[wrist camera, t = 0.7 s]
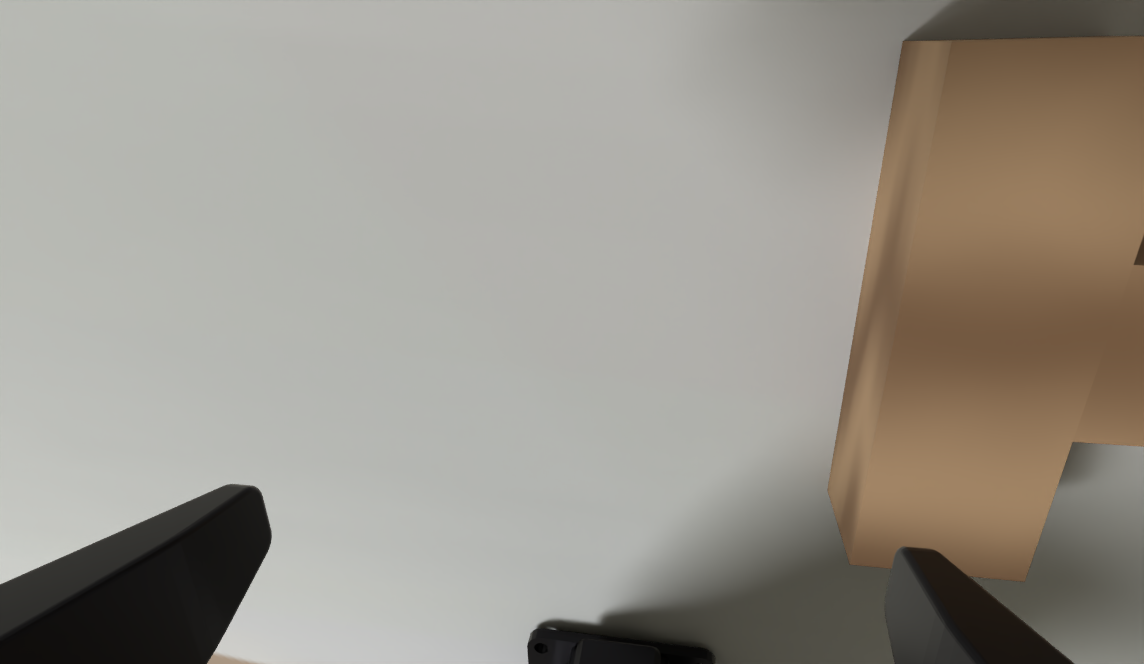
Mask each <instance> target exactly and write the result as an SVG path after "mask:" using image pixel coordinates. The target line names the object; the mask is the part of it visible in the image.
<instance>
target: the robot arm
mask: <svg viewBox="0 0 1144 664" xmlns="http://www.w3.org/2000/svg"><path fill="white" fill-rule="evenodd" d="M271 538H272V533H271V528H270V524H269V520H268V516H267V512H266V508H265V504H264V500H263V496H262V493H261V491H260V490H259V489H258V488H257V487H254V486H250V485H239V484H228V485H225V486H222V487H220V488H218V489H216V490H213V491H211V492H209V493H206V494H204V495H202V496H200V497H197V498H195V499H193V500H191V501H188V502H186V503H184V504H182V505H179V506H177V507H175V508H172V509H170V510H168V511H166V512H163V513H161V514H159V515H157V516H154V517H152V518H150V519H148V520H145V521H143V522H141V523H138V524H136V525H134V526H132V527H129V528H127V529H125V530H123V531H120V532H118V533H116V534H114V535H111V536H109V537H107V538H104V539H102V540H100V541H98V542H95V543H93V544H91V545H89V546H86V547H84V548H82V549H80V550H77V551H75V552H73V553H71V554H68V555H66V556H64V557H61V558H59V559H57V560H55V561H52V562H50V563H48V564H46V565H43V566H41V567H39V568H37V569H34V570H32V571H30V572H27V573H25V574H23V575H21V576H18V577H16V578H14V579H12V580H9V581H7V582H5V583H3V584H0V664H207V663H208V661H209V659H210V658H211V656H212V655H213V653H214V651H215V650H216V648H217V646H218V644H219V643H220V641H221V639H222V637H223V635H224V634H225V632H226V630H227V628H228V626H229V624H230V622H231V621H232V619H233V617H234V615H235V613H236V611H237V609H238V607H239V605H240V603H241V602H242V600H243V598H244V596H245V594H246V592H247V590H248V588H249V586H250V584H251V583H252V581H253V579H254V577H255V575H256V573H257V571H258V569H259V567H260V566H261V564H262V562H263V560H264V558H265V556H266V554H267V552H268V550H269V547H270V544H271ZM885 617H886V622H887V627H888V632H889V637H890V642H891V647H892V652H893V657H894V662H895V664H1074V663H1073V662H1072V661H1071V660H1070V659H1068V658H1067V657H1066V656H1065V655H1063V654H1062V653H1061V652H1060V651H1059V650H1057V649H1056V648H1055V647H1054V646H1053V645H1051V644H1050V643H1049V642H1048V641H1046V640H1045V639H1044V638H1043V637H1042V636H1040V635H1039V634H1038V633H1037V632H1036V631H1034V630H1033V629H1032V628H1031V627H1030V626H1028V625H1027V624H1026V623H1025V622H1023V621H1022V620H1021V619H1020V618H1019V617H1017V616H1016V615H1015V614H1014V613H1013V612H1011V611H1010V610H1009V609H1008V608H1006V607H1005V606H1004V605H1003V604H1002V603H1000V602H999V601H998V600H997V599H996V598H994V597H993V596H992V595H991V594H990V593H988V592H987V591H986V590H985V589H983V588H982V587H981V586H980V585H979V584H977V583H976V582H975V581H974V580H973V579H971V578H970V577H969V576H968V575H966V574H965V573H964V572H963V571H962V570H960V569H959V568H958V567H957V566H956V565H954V564H953V563H952V562H951V561H949V560H948V559H947V558H946V557H945V556H943V555H942V554H941V553H939V552H938V551H936V550H934V549H929V548H918V547H907V546H902V547H901V548H899V549H898V550H897V551H896V553H895V556H894V559H893V564H892V569H891V573H890V578H889V582H888V587H887V591H886V596H885ZM527 648H528V662H529V664H699V663H702V664H716V661H715V656H714V655H713V653H712V652H710V651H709V650H707V649H703V648H697V647H688V646H680V645H672V644H664V643H656V642H648V641H639V640H631V639H623V638H615V637H607V636H599V635H590V634H582V633H574V632H566V631H558V630H549V629H536V630H533V632H532V633H531V634H530V638H529V642H528V646H527Z"/></svg>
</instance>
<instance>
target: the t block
mask: <svg viewBox="0 0 1144 664" xmlns="http://www.w3.org/2000/svg"><path fill="white" fill-rule="evenodd" d="M1072 442H1083V443H1098V444H1113V445H1128V446H1143V447H1144V36H1086V37H1045V38H1005V39H965V40H925V41H903V43H902V49H901V55H900V61H899V67H898V73H897V79H896V85H895V91H894V97H893V103H892V109H891V115H890V120H889V126H888V132H887V138H886V144H885V150H884V156H883V162H882V168H881V174H880V180H879V186H878V192H877V198H876V204H875V210H874V216H873V222H872V228H871V234H870V240H869V246H868V252H867V258H866V264H865V269H864V275H863V281H862V287H861V293H860V299H859V305H858V311H857V317H856V323H855V329H854V335H853V341H852V347H851V353H850V359H849V365H848V371H847V377H846V383H845V389H844V395H843V401H842V407H841V413H840V418H839V424H838V430H837V436H836V442H835V448H834V454H833V460H832V466H831V472H830V478H829V484H828V494H829V497H830V500H831V504H832V507H833V510H834V514H835V517H836V520H837V524H838V527H839V530H840V534H841V537H842V540H843V544H844V547H845V550H846V554H847V557H848V560H849V564H850V565H859V566H869V567H879V568H890V569H892V564H893V559H894V556H895V553H896V551H897V550H898V549H899V548H901V547H902V546H907V547H918V548H929V549H934V550H936V551H938V552H939V553H941V554H942V555H943V556H945V557H946V558H947V559H948V560H949V561H951V562H952V563H953V564H954V565H956V566H957V567H958V568H959V569H960V570H962V571H963V572H964V573H965V574H966V575H968V576H971V577H981V578H991V579H1001V580H1011V581H1022V582H1025V579H1026V576H1027V574H1028V571H1029V568H1030V565H1031V562H1032V559H1033V556H1034V553H1035V550H1036V547H1037V544H1038V542H1039V539H1040V536H1041V533H1042V530H1043V527H1044V524H1045V521H1046V518H1047V515H1048V512H1049V509H1050V507H1051V504H1052V501H1053V498H1054V495H1055V492H1056V489H1057V486H1058V483H1059V480H1060V477H1061V474H1062V472H1063V469H1064V466H1065V463H1066V460H1067V457H1068V454H1069V451H1070V448H1071V445H1072Z"/></svg>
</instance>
